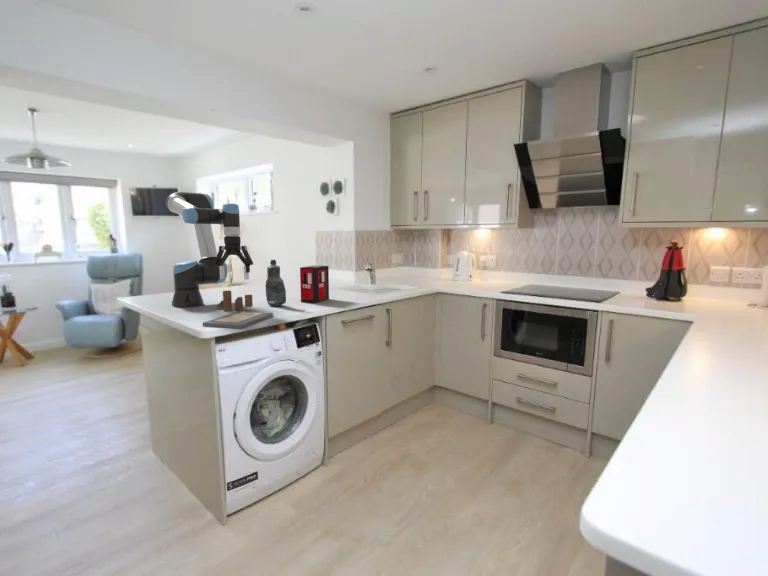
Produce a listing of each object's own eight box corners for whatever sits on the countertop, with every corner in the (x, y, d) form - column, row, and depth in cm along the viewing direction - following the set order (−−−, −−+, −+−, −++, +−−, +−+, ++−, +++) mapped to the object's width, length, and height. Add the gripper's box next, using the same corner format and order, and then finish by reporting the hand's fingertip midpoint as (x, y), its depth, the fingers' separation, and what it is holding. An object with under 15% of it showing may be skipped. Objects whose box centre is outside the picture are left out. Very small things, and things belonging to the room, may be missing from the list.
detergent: (289, 305, 216) (288, 259, 213) (281, 308, 210) (279, 260, 206) (270, 304, 221) (268, 259, 218) (261, 306, 215) (259, 259, 211)
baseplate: (202, 326, 167) (202, 321, 167) (239, 314, 192) (239, 310, 192) (240, 328, 163) (240, 324, 163) (273, 316, 188) (272, 312, 188)
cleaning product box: (314, 303, 224) (313, 267, 221) (301, 302, 227) (300, 267, 224) (329, 299, 239) (328, 265, 236) (316, 298, 242) (315, 265, 240)
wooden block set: (253, 309, 206) (253, 289, 206) (249, 311, 198) (248, 290, 197) (218, 310, 205) (217, 290, 205) (212, 312, 196) (211, 291, 196)
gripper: (204, 236, 194) (207, 279, 196) (250, 235, 188) (252, 280, 190) (214, 236, 201) (217, 278, 204) (259, 235, 195) (261, 278, 198)
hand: (234, 279), depth 197 cm, fingers open, 13 cm apart
